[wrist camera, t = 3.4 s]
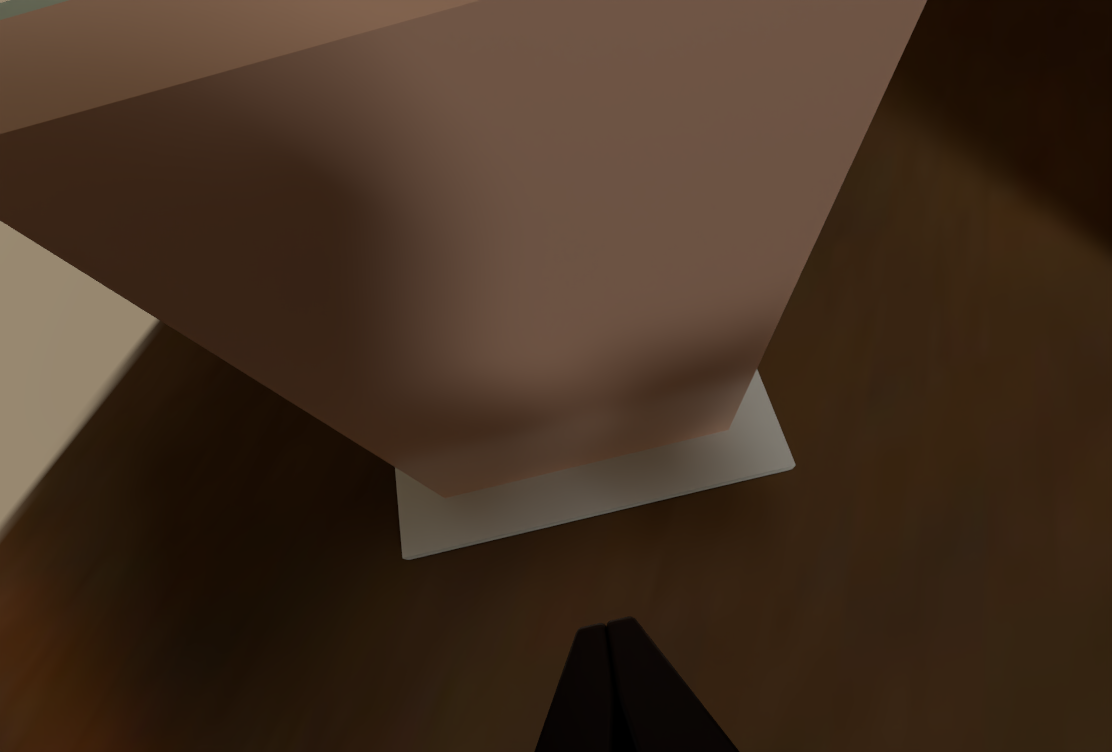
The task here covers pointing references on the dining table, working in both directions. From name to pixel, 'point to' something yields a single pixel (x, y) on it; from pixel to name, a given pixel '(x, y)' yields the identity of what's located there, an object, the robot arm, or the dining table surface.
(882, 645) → the dining table surface
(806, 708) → the dining table surface
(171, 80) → the pink eraser
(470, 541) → the grey mat
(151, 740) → the dining table surface
